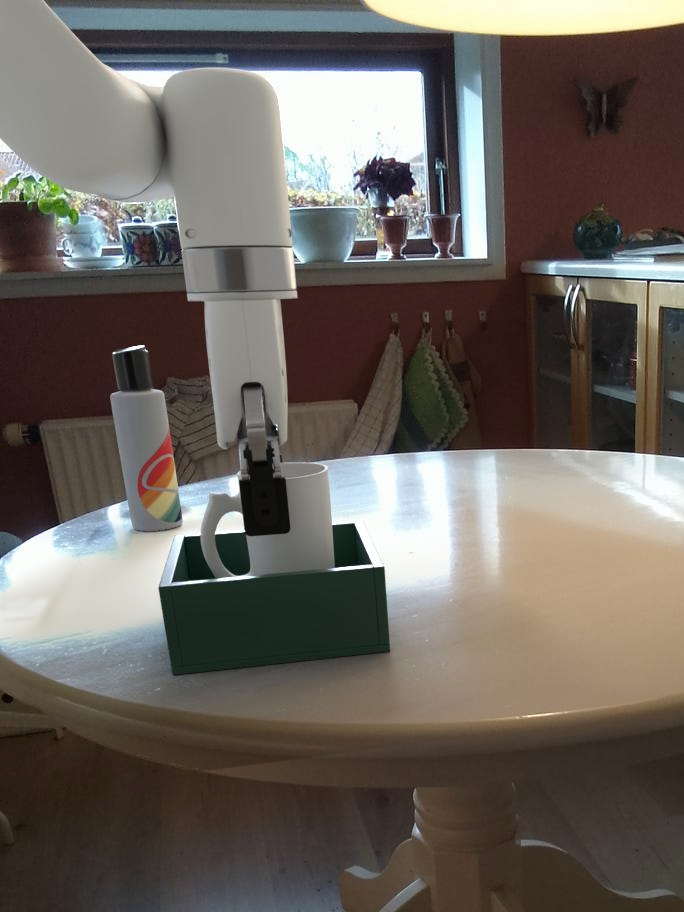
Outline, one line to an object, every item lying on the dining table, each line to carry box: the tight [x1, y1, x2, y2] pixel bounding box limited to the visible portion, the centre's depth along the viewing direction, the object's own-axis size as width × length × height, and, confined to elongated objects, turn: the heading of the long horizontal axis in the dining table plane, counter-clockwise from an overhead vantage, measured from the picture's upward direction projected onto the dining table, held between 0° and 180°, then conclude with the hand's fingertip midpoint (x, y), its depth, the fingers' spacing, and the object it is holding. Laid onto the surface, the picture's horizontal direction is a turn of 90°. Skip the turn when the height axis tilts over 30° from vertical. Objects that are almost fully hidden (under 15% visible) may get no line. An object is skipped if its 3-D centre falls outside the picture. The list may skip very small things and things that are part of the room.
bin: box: [157, 520, 391, 676], centre depth 73 cm, size 16×15×7 cm
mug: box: [200, 461, 335, 579], centre depth 71 cm, size 10×7×12 cm, turn 113°
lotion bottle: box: [109, 345, 183, 532], centre depth 104 cm, size 6×6×20 cm
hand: (267, 518), depth 70 cm, fingers open, 9 cm apart
